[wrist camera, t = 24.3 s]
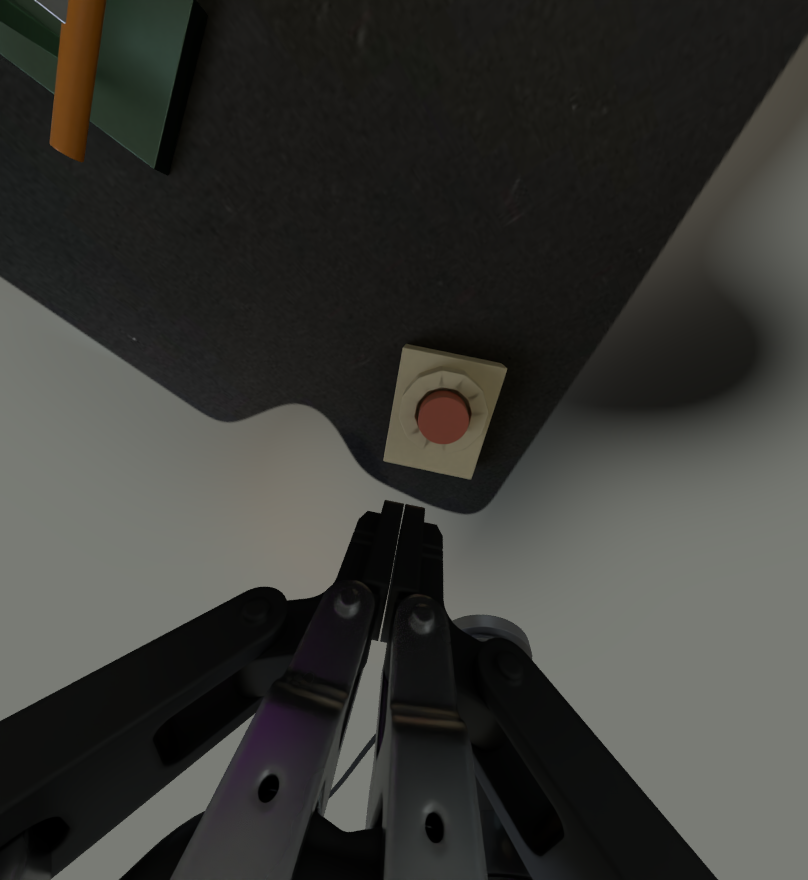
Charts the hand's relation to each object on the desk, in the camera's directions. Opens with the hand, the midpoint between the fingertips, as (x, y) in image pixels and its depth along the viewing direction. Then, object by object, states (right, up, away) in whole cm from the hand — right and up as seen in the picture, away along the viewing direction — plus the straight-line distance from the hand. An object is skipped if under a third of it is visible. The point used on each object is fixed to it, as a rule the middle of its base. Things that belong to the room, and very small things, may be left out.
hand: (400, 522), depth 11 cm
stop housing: (+3, +6, +15) cm, 17 cm away
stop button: (+3, +5, +12) cm, 13 cm away
